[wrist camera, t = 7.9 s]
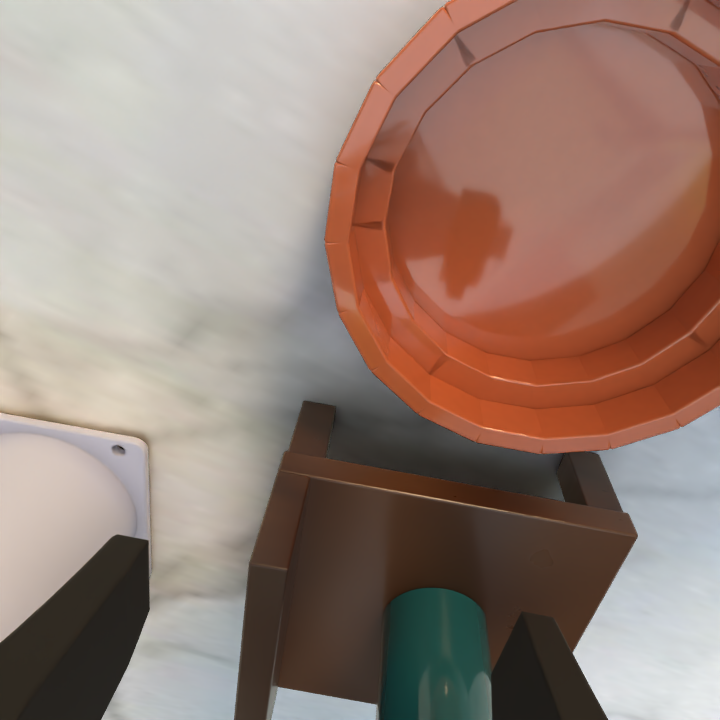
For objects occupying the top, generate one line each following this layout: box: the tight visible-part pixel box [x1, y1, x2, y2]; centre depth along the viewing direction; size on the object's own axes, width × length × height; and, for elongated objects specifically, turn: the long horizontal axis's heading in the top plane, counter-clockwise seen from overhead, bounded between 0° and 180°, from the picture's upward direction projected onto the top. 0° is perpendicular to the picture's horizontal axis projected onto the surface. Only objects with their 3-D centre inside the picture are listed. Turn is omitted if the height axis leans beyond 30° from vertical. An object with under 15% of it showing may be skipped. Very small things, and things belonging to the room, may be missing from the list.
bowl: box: [324, 0, 720, 454], centre depth 15 cm, size 12×12×4 cm
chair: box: [234, 401, 638, 720], centre depth 20 cm, size 11×11×8 cm
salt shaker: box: [376, 587, 493, 720], centre depth 18 cm, size 4×4×6 cm
